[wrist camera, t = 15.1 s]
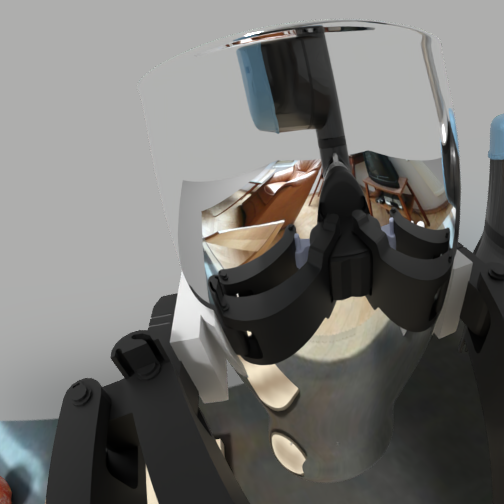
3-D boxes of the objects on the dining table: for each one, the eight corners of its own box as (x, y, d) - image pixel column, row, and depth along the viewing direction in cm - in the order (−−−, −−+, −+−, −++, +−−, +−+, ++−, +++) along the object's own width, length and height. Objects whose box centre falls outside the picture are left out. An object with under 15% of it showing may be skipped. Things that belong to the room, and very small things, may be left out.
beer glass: (256, 389, 16) (167, 93, 9) (376, 362, 16) (368, 60, 8) (266, 504, 10) (50, 90, 3) (418, 465, 9) (524, 44, 2)
